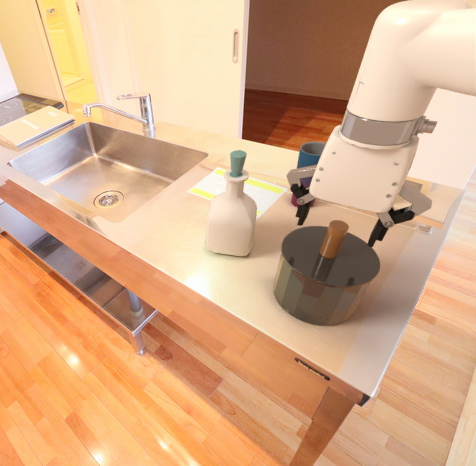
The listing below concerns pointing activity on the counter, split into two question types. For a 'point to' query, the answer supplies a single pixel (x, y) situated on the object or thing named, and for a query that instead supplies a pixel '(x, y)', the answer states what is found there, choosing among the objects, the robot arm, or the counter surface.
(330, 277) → the lid
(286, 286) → the pot
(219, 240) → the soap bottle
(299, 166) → the cup
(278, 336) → the counter surface
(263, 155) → the counter surface
